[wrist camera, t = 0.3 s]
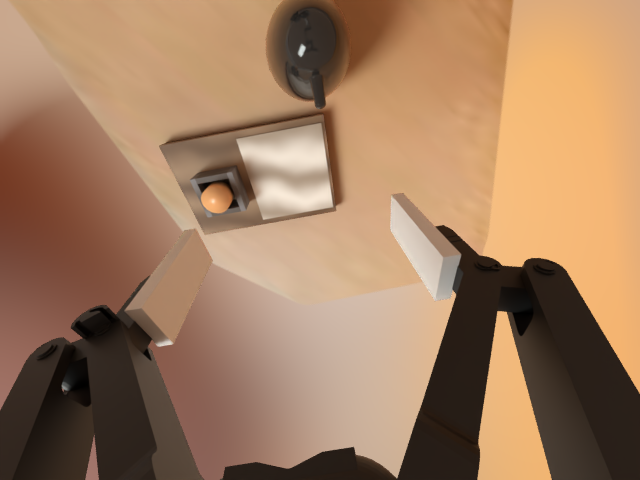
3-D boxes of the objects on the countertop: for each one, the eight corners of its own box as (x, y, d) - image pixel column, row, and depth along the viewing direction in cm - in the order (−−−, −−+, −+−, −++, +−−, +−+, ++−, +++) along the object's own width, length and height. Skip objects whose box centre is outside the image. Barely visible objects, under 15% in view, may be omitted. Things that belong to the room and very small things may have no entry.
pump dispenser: (279, 107, 35) (270, 118, 23) (260, 13, 30) (232, -40, 17) (346, 95, 35) (374, 100, 23) (340, -1, 30) (372, -65, 17)
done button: (203, 183, 36) (196, 191, 34) (228, 179, 36) (223, 186, 34) (213, 207, 39) (207, 215, 36) (237, 202, 38) (233, 210, 36)
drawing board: (165, 143, 37) (146, 151, 32) (322, 113, 36) (325, 117, 32) (208, 229, 46) (198, 245, 41) (334, 206, 45) (339, 219, 41)
